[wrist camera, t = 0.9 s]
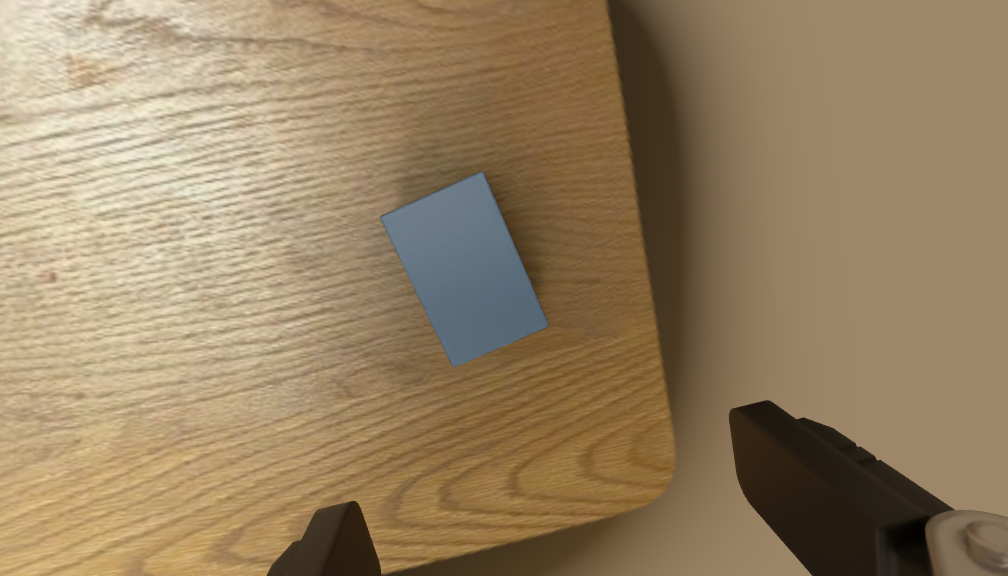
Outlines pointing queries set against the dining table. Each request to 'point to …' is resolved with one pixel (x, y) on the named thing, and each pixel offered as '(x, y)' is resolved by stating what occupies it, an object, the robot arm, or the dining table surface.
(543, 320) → the sponge
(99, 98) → the dining table surface
